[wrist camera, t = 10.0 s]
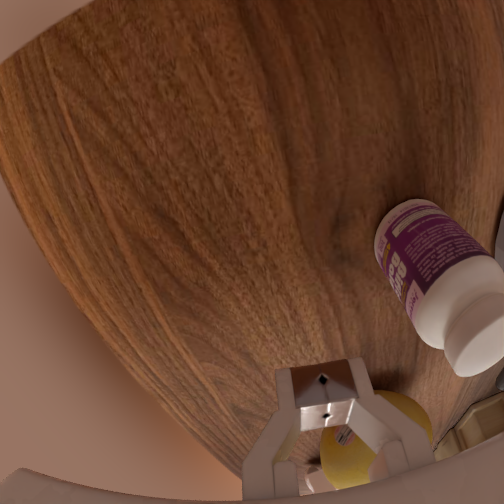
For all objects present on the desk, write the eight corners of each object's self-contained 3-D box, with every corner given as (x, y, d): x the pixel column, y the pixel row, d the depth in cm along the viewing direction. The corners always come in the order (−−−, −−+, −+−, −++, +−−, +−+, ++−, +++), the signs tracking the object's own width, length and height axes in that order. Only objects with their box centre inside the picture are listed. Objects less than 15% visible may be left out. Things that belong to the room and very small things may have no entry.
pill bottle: (355, 232, 18) (426, 359, 10) (423, 179, 16) (533, 273, 8) (393, 284, 20) (453, 400, 12) (452, 239, 18) (535, 337, 10)
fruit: (293, 422, 29) (304, 509, 21) (358, 361, 24) (390, 468, 16) (366, 429, 32) (383, 501, 23) (430, 376, 27) (463, 457, 18)
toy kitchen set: (493, 428, 42) (516, 485, 29) (426, 455, 42) (446, 522, 29) (538, 372, 32) (573, 440, 19) (467, 406, 33) (501, 492, 20)
